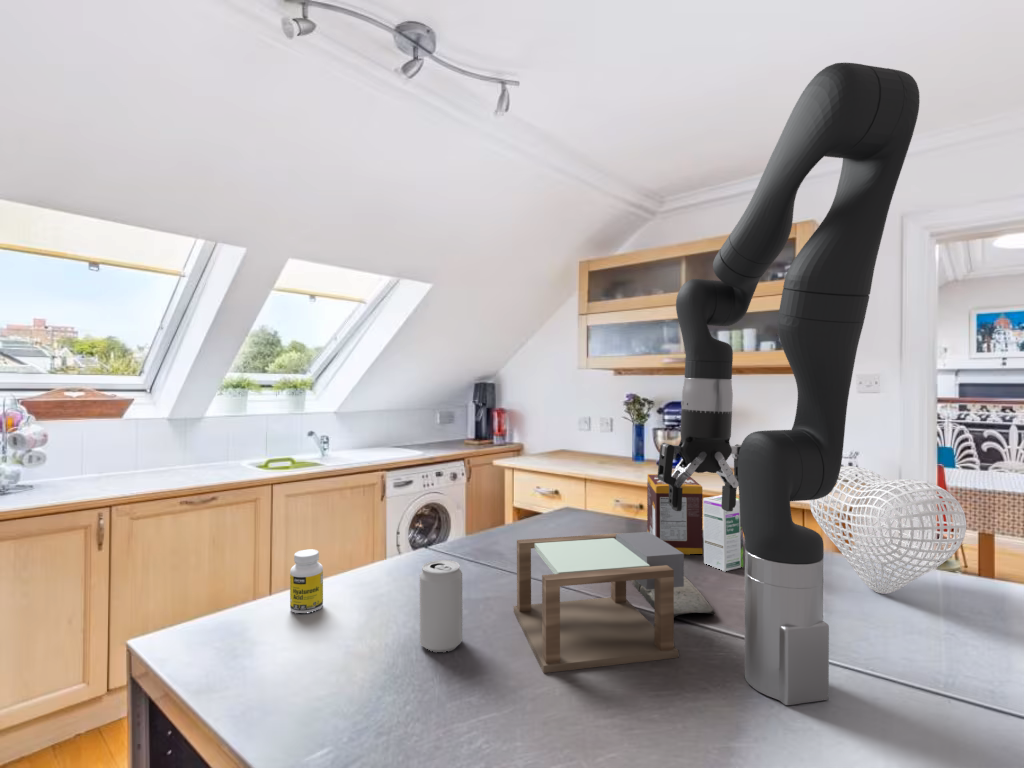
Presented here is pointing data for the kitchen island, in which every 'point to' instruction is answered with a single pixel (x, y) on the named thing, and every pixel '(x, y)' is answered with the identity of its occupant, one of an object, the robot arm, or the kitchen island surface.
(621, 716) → the kitchen island surface
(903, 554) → the heart
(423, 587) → the beverage can
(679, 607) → the stone slab
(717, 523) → the syrup box
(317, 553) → the supplement bottle
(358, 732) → the kitchen island surface
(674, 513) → the supplement box
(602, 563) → the trapdoor plate
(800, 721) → the kitchen island surface
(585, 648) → the wooden rack
